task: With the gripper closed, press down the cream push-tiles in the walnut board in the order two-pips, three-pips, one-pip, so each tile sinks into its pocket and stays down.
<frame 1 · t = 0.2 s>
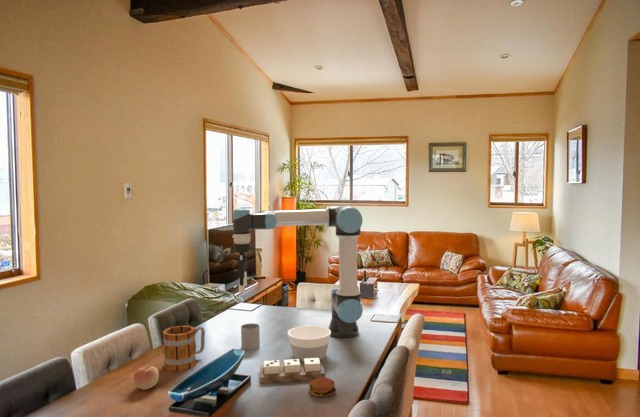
hand: (243, 288, 221), 28 cm above the table, fingers open, 13 cm apart
burger: (322, 393, 176), on the table
tile one: (312, 365, 192), point 4 cm above the table, slide at 0.0 cm
bowl: (309, 356, 213), on the table
board: (292, 375, 192), on the table
mug: (186, 363, 206), on the table
tile three: (271, 367, 190), point 4 cm above the table, slide at 0.0 cm
cup: (250, 347, 224), on the table
peach: (147, 388, 182), on the table
tile two: (292, 366, 191), point 4 cm above the table, slide at 0.0 cm
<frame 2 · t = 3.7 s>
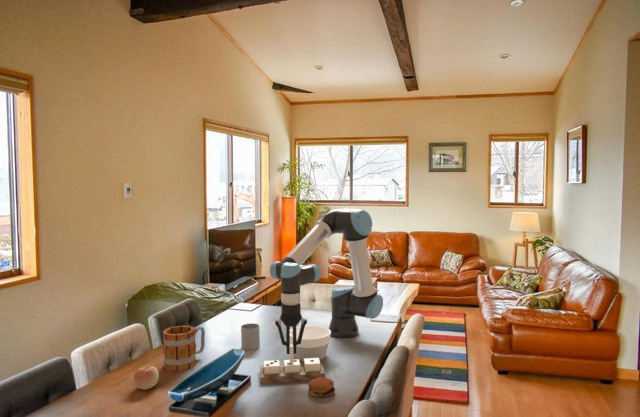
hand: (291, 361, 191), 6 cm above the table, fingers closed
tile two: (292, 366, 191), point 4 cm above the table, slide at 0.1 cm, touching gripper
everything else where it was.
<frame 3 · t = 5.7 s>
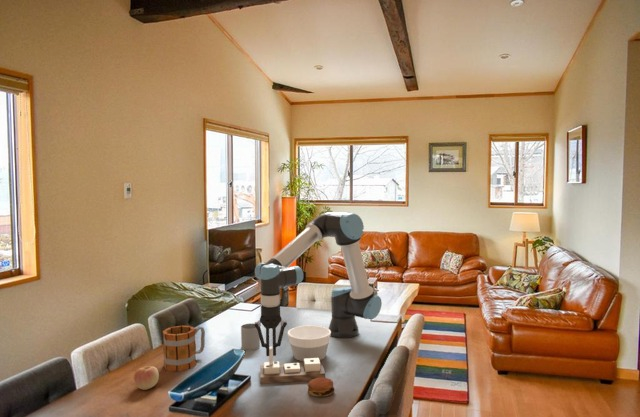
hand: (271, 363, 190), 5 cm above the table, fingers closed
tile three: (271, 368, 191), point 3 cm above the table, slide at 0.6 cm, touching gripper
tile two: (292, 370, 192), point 2 cm above the table, slide at 1.6 cm
everything else where it was.
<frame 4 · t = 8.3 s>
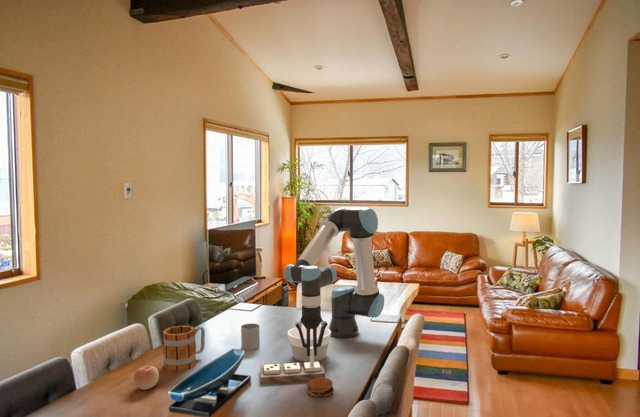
hand: (311, 363, 192), 4 cm above the table, fingers closed
tile one: (312, 368, 193), point 2 cm above the table, slide at 1.6 cm, touching gripper
tile three: (271, 371, 191), point 2 cm above the table, slide at 1.6 cm
everything else where it was.
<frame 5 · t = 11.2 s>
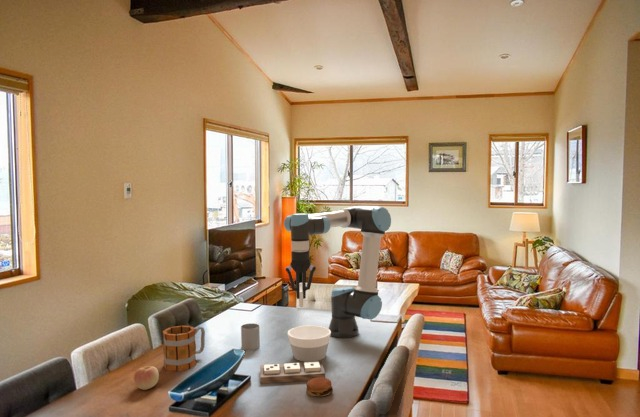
hand: (301, 306, 203), 24 cm above the table, fingers closed
tile one: (312, 368, 193), point 2 cm above the table, slide at 1.6 cm
at the end: tile two slide at 1.6 cm; tile three slide at 1.6 cm; tile one slide at 1.6 cm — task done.
